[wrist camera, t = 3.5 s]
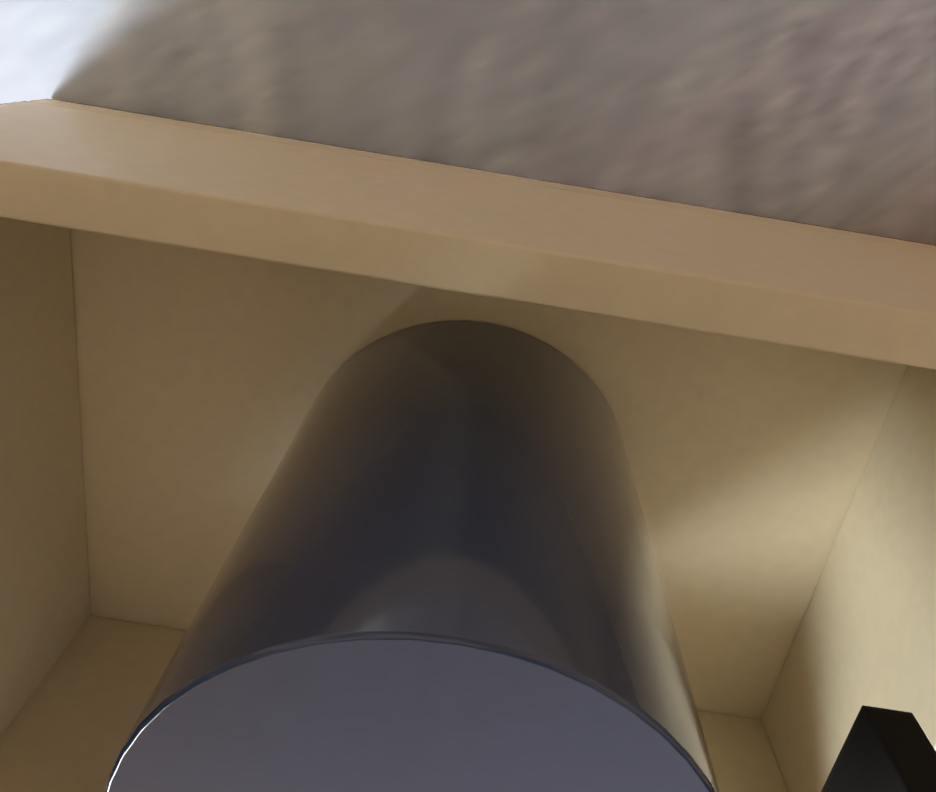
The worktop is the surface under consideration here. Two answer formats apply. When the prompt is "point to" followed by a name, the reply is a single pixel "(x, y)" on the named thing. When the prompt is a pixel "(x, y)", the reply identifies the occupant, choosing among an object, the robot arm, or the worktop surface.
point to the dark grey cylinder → (434, 597)
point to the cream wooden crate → (425, 301)
